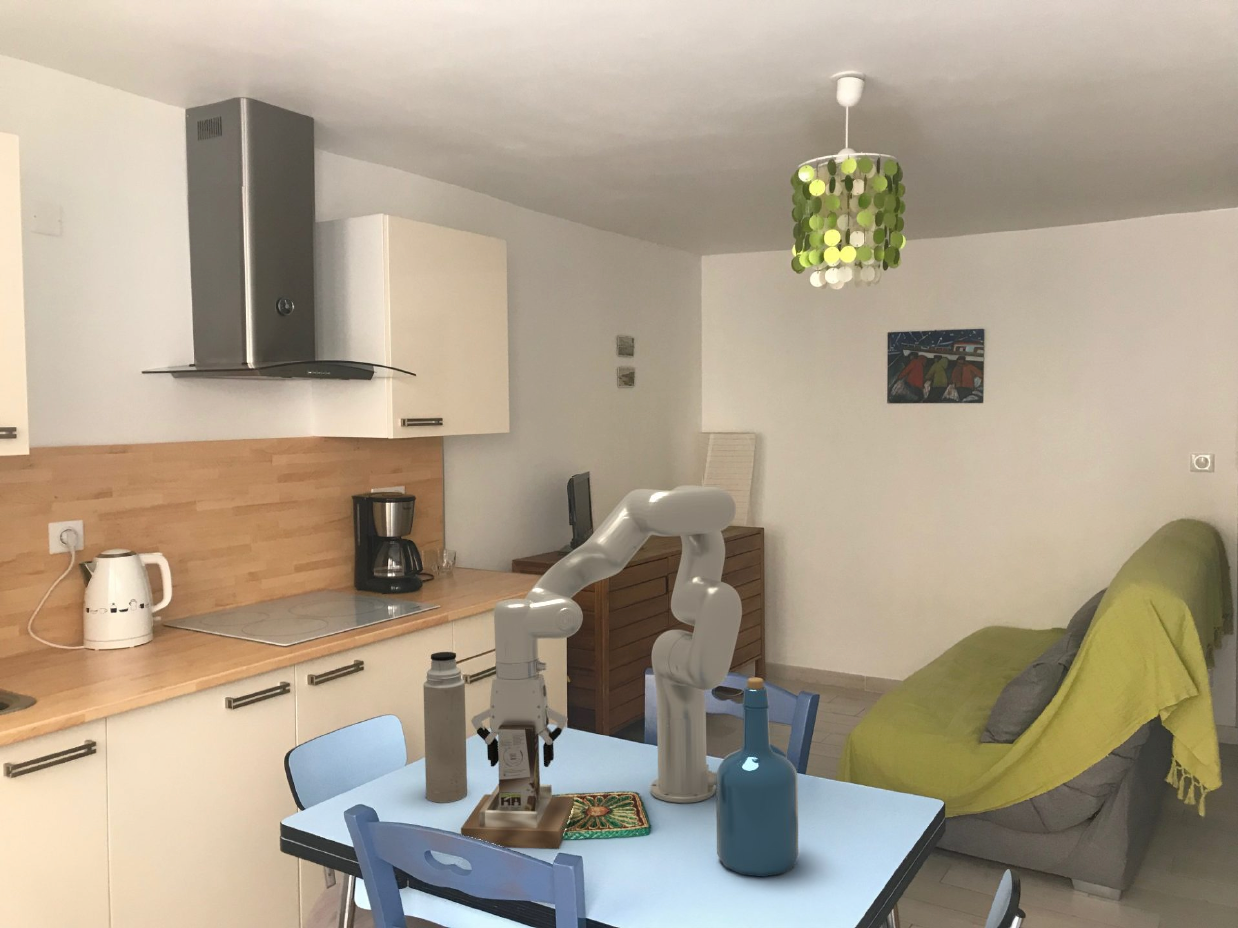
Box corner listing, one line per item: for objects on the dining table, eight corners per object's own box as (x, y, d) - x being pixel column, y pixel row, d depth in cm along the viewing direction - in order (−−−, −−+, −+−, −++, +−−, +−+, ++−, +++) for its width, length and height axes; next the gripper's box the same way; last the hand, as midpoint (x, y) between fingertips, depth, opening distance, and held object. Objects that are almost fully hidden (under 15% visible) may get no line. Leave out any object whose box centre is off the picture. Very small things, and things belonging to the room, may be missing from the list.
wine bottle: (779, 886, 151) (777, 693, 150) (703, 867, 158) (700, 683, 157) (812, 853, 162) (810, 674, 162) (739, 837, 169) (736, 665, 169)
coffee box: (535, 820, 170) (533, 728, 170) (498, 820, 171) (496, 728, 170) (541, 800, 179) (539, 713, 179) (506, 801, 180) (504, 713, 179)
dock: (574, 812, 182) (573, 783, 182) (558, 848, 166) (558, 816, 166) (484, 809, 184) (484, 780, 184) (461, 845, 168) (460, 813, 168)
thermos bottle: (438, 786, 197) (435, 647, 196) (474, 790, 195) (471, 650, 194) (418, 800, 190) (414, 656, 189) (454, 804, 187) (451, 659, 186)
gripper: (568, 663, 177) (572, 757, 178) (475, 664, 179) (479, 756, 180) (561, 674, 170) (565, 771, 170) (464, 674, 172) (468, 771, 172)
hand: (521, 764), depth 175 cm, fingers open, 9 cm apart
